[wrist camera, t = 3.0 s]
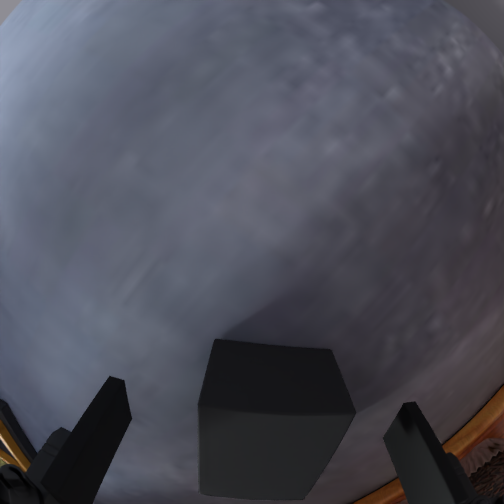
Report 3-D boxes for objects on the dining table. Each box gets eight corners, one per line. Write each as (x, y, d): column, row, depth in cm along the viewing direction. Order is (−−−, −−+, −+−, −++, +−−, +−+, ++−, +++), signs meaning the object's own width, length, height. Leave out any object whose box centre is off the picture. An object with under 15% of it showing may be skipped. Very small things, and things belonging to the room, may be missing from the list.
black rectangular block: (214, 337, 11) (197, 404, 7) (331, 348, 11) (357, 412, 7) (208, 437, 13) (198, 494, 9) (297, 444, 13) (304, 500, 9)
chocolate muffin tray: (557, 299, 11) (620, 340, 3) (562, 368, 13) (596, 400, 5) (322, 515, 16) (331, 581, 8) (400, 518, 19) (413, 560, 10)
